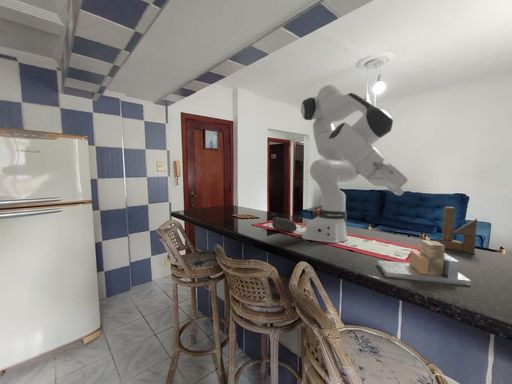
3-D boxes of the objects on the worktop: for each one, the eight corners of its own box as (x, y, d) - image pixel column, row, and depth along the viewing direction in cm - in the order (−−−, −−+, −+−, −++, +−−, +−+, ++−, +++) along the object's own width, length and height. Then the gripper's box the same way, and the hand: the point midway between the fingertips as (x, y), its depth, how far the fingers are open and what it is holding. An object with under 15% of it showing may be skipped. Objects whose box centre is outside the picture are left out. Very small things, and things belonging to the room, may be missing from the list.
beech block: (427, 273, 70) (429, 244, 70) (420, 266, 75) (422, 240, 74) (442, 274, 69) (444, 245, 69) (434, 268, 74) (436, 241, 73)
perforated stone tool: (298, 232, 125) (299, 219, 124) (293, 234, 121) (294, 221, 120) (276, 227, 135) (276, 216, 134) (271, 229, 131) (271, 217, 130)
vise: (386, 276, 71) (387, 256, 71) (377, 264, 81) (378, 246, 80) (470, 285, 66) (472, 263, 65) (450, 271, 75) (452, 252, 75)
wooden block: (474, 254, 92) (477, 210, 90) (440, 248, 99) (443, 207, 98) (474, 252, 94) (478, 209, 93) (441, 246, 102) (444, 206, 100)
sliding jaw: (420, 273, 70) (421, 258, 69) (409, 263, 77) (410, 249, 77) (430, 274, 69) (431, 259, 68) (418, 264, 77) (419, 250, 76)
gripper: (391, 154, 64) (426, 189, 64) (367, 159, 84) (394, 185, 84) (373, 169, 65) (408, 204, 65) (353, 171, 85) (380, 197, 85)
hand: (400, 193), depth 74 cm, fingers closed
